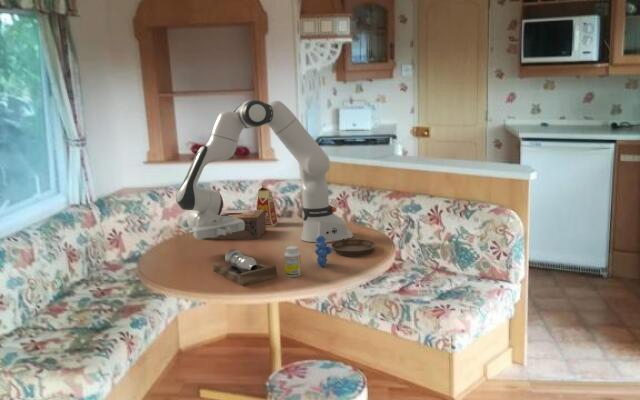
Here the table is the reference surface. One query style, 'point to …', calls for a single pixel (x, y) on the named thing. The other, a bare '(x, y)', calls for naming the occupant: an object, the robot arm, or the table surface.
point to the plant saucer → (353, 247)
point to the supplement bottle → (292, 262)
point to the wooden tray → (247, 274)
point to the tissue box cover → (246, 224)
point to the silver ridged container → (240, 261)
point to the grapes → (322, 250)
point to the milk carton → (267, 206)
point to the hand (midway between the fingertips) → (227, 232)
